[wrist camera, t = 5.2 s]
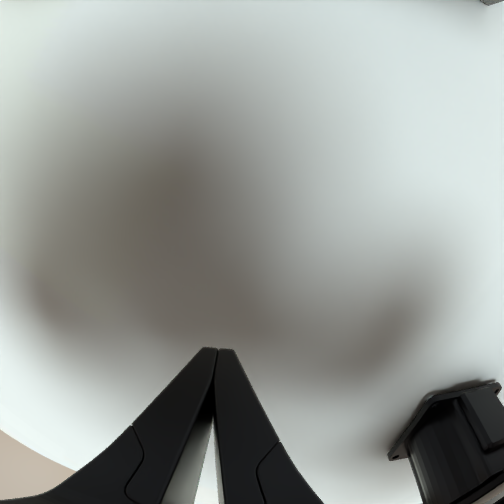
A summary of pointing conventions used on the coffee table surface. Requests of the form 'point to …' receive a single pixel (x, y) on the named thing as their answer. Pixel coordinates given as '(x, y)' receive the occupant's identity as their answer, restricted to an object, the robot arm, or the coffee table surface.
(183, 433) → the robot arm
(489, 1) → the block
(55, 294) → the coffee table surface
